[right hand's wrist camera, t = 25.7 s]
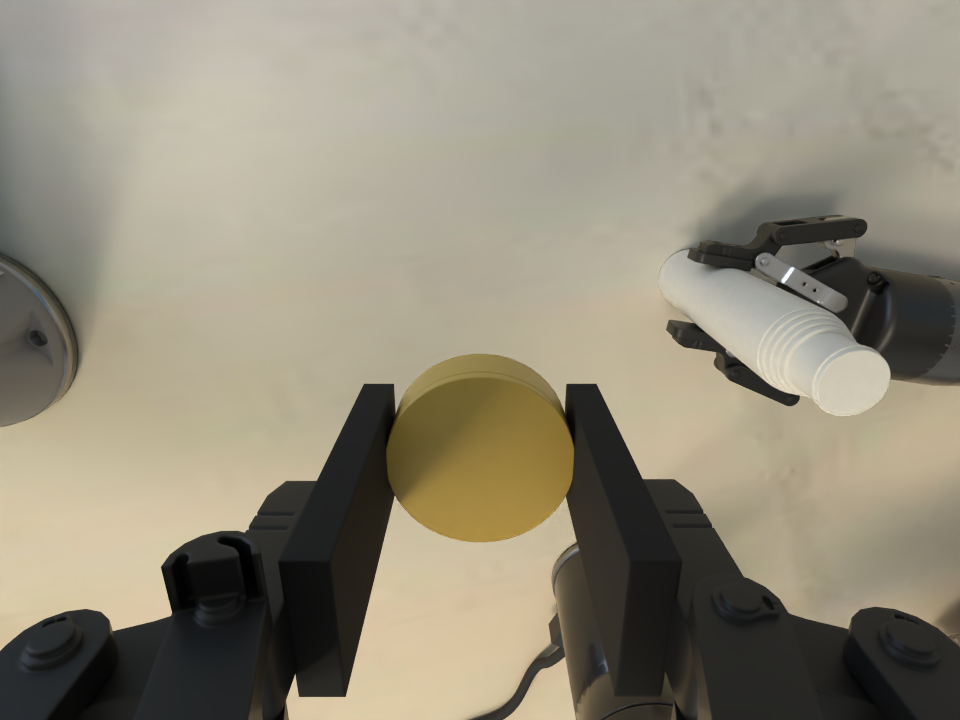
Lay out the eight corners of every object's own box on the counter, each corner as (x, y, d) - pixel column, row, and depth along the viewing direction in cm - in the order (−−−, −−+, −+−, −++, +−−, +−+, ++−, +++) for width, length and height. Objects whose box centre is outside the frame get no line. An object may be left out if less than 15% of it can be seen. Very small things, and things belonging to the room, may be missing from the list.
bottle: (648, 296, 46) (782, 414, 26) (672, 241, 45) (834, 321, 24) (700, 312, 47) (871, 441, 26) (725, 259, 45) (928, 352, 25)
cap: (443, 528, 16) (439, 567, 14) (362, 397, 14) (349, 425, 13) (592, 467, 15) (603, 501, 14) (522, 323, 14) (528, 345, 12)
